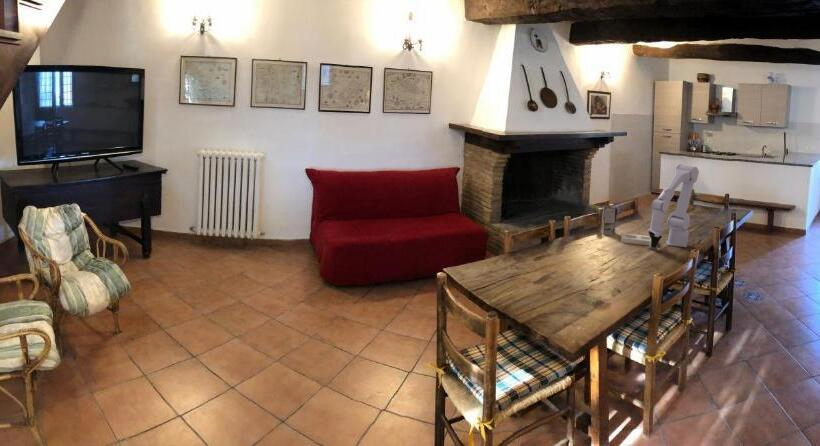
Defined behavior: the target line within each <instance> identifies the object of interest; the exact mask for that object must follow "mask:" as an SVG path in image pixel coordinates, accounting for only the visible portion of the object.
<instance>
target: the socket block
mask: <svg viewBox="0 0 820 446" xmlns="http://www.w3.org/2000/svg"><path fill="white" fill-rule="evenodd" d="M620 241H621V243H623V244H624V243H626V244H632V245H642V246H649V242H650V235H644V234H642V235H641V234H635V233H634V234H633V233H625V232H621V233H620Z"/></svg>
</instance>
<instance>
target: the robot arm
mask: <svg viewBox="0 0 820 446" xmlns="http://www.w3.org/2000/svg"><path fill="white" fill-rule="evenodd" d="M699 172H700V170H699V169H698V167H697V166H691V165H690V166H689V165H683V164H678V165H677V166H676V167H675V169H674V176H673V178H672V179H671V180H670V181H671V182H670V183H669V185H668V186H667V187H664V188H663V190H662V192H661V193H660V194H659V196H658V197H657V198H655V199H653V201H652V202H651V204H650V206H651V207H650V208H651V213H652V214H651V221H650V227H649V228H647V231H648V236H650V238H651V247H652V248H656V247H657V248H658V245H659V242H660V241H661V239H662V238H663V236H662V235H661V233H662V232H663V226H664V220H665V219H664V218H665V215H666V214H665V213H666V211H668V208H669V206H670V203H671V200H672V199H673V197H674V195H675V190H676V189H677V188H678V187H679V186H680V185H681V183H682V187H681V190H680V193H679V196H678V201H677V205H676V208H675V211H673V212H671V213H670V215H669V216H668V218H667V220H666V221H667V222H666V224H667V226H668V228H669V233H668V238H667V240H665V242H666V244H667V245H668V246H673V247H674V246H675V247H679V248H680V247H681V248H682V247H683V248H687V247H688V241H689V235H690V232H689V230H688V228H689V227H690V224H691V222H690V220H691V217H690V215H689V214H688V213H687V210H688V207H689V203H690V201H691V200H690V199H691V197H692V196H691V195H692V192H693V189H694V188H693V187H694V185H695V183H697V180H698V178H699V174H700V173H699ZM657 244H658V245H657Z"/></svg>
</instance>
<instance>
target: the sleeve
mask: <svg viewBox="0 0 820 446" xmlns="http://www.w3.org/2000/svg"><path fill="white" fill-rule="evenodd" d="M658 245H659V243H658V244H657V247H656V248H652V247H651V238H650V242H649V245H648V250H650V251H657V250H658Z"/></svg>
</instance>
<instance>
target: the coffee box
mask: <svg viewBox="0 0 820 446" xmlns="http://www.w3.org/2000/svg"><path fill="white" fill-rule="evenodd" d="M602 209H603V211H602V216H601V217H602V218H601V224H600V232H601V234H602V235H604V236H611V237H613V236H615V230H616V229H615V228H616V221H617V216H618V210H619V209H618V208H617V206H615V205H610V204H609V205H608V204H605V205H603V208H602Z"/></svg>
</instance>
